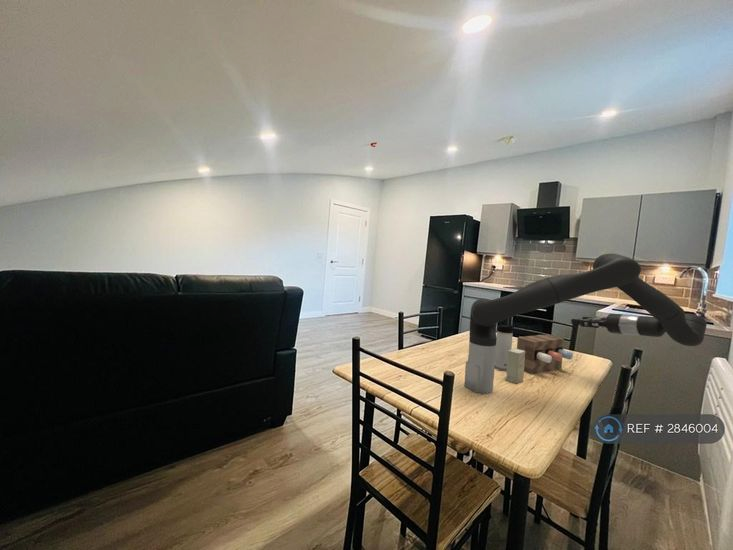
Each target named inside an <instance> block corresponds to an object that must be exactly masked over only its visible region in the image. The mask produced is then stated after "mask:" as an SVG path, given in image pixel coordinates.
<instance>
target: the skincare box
mask: <svg viewBox="0 0 733 550" xmlns="http://www.w3.org/2000/svg"><path fill="white" fill-rule="evenodd" d="M524 364H525V351H523V350H519V349H517V348H515V347H514V348H511V350H509V351H508V362H507V371H506V377H505V379H506V381H508V382H511V383H514V384H520V383H521V382H523V381H524V375H525V371H524Z"/></svg>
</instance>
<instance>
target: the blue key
mask: <svg viewBox="0 0 733 550" xmlns="http://www.w3.org/2000/svg"><path fill="white" fill-rule="evenodd" d="M558 353H560V354H562V356H563V357H562V359H566V360H572V359H573V357H574V356H573V352H571V351H568V350H566V349H565V350H564V349H563V350H561V349H559V350H558Z"/></svg>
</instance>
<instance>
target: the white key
mask: <svg viewBox="0 0 733 550" xmlns="http://www.w3.org/2000/svg"><path fill="white" fill-rule="evenodd" d="M537 359H539V360H541V361H544V362H547V363H550V362H551V361H552V356H550V355H547V354H544V353H541V352H538V353H537Z"/></svg>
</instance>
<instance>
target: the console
mask: <svg viewBox="0 0 733 550" xmlns="http://www.w3.org/2000/svg"><path fill="white" fill-rule="evenodd" d="M564 341H565V339H564V338H562V337H560V336H559V337H558V336H555V335H551V334H548V333H545V334H537V335H526V336H525V335H524V336H518V337H517V342H516V343H517V344H516V349H519V350H523V351H525V364H524V373H527V374H529V375H537V374H541V373H546V372H552V370H553V371H558V369H559V370H562V367H563V359H562V360H561V361H557V360H554V359H552V361H551V362H550V363H547V362H544V361H541V360H539V359H537V353H538V352H541V353H544V354H548V352H549V351H553V352H556V353H558V350H559V349H561V350H564V346H565V345H564V344H565V343H564Z"/></svg>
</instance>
